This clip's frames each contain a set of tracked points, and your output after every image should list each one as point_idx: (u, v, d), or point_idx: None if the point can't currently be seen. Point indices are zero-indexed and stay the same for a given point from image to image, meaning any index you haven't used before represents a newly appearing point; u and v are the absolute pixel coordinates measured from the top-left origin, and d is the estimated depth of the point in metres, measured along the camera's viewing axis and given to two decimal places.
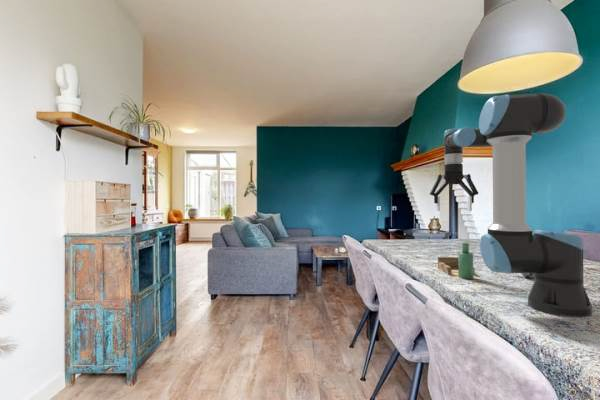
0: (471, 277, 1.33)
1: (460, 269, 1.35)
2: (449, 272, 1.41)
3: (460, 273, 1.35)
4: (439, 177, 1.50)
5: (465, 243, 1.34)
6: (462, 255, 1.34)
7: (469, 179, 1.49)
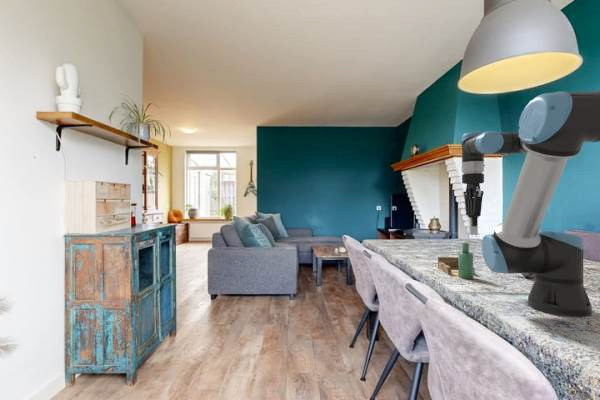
0: (471, 277, 1.33)
1: (460, 269, 1.35)
2: (449, 272, 1.41)
3: (460, 273, 1.35)
4: (464, 194, 1.33)
5: (465, 243, 1.34)
6: (462, 255, 1.34)
7: (474, 196, 1.23)
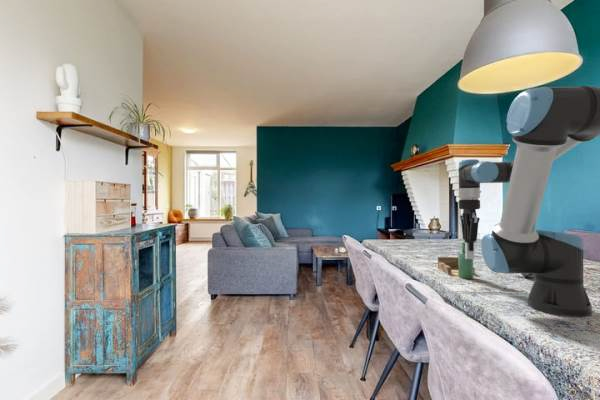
0: (471, 277, 1.33)
1: (460, 269, 1.35)
2: (449, 272, 1.41)
3: (460, 273, 1.35)
4: (461, 219, 1.37)
5: None
6: (462, 255, 1.34)
7: (471, 222, 1.27)
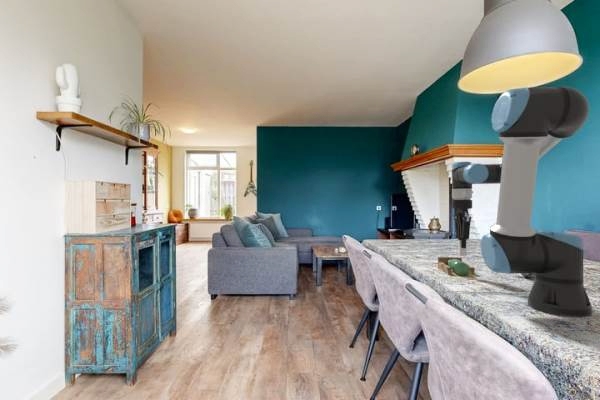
0: None
1: (453, 265, 1.42)
2: (449, 272, 1.41)
3: (455, 266, 1.40)
4: (454, 218, 1.44)
5: (450, 260, 1.52)
6: (450, 261, 1.48)
7: (463, 221, 1.34)
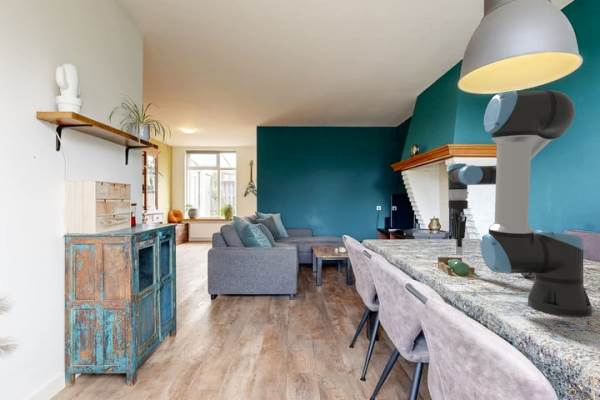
0: None
1: (453, 265, 1.42)
2: (449, 272, 1.41)
3: (455, 266, 1.40)
4: None
5: (450, 260, 1.52)
6: (450, 261, 1.48)
7: (459, 221, 1.39)
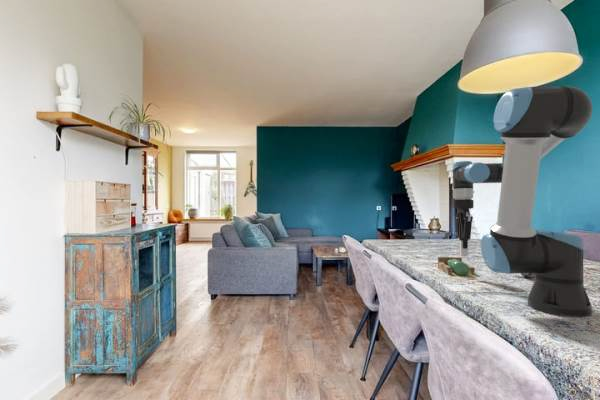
0: (464, 263, 1.39)
1: (453, 265, 1.42)
2: (449, 272, 1.41)
3: (454, 266, 1.40)
4: (455, 218, 1.43)
5: (449, 260, 1.52)
6: (449, 261, 1.48)
7: (465, 221, 1.33)
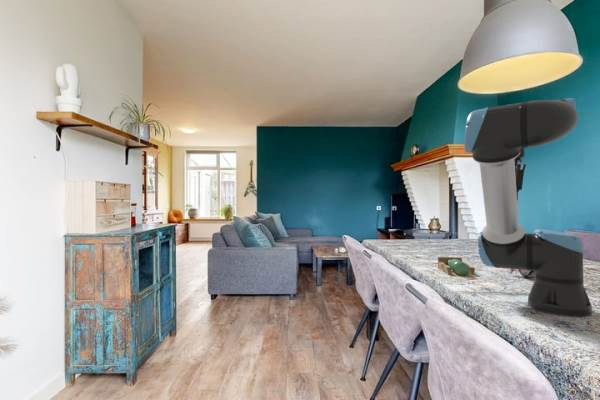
0: None
1: (453, 265, 1.42)
2: (449, 272, 1.41)
3: (455, 266, 1.40)
4: None
5: (450, 260, 1.52)
6: (450, 261, 1.48)
7: (516, 170, 1.24)
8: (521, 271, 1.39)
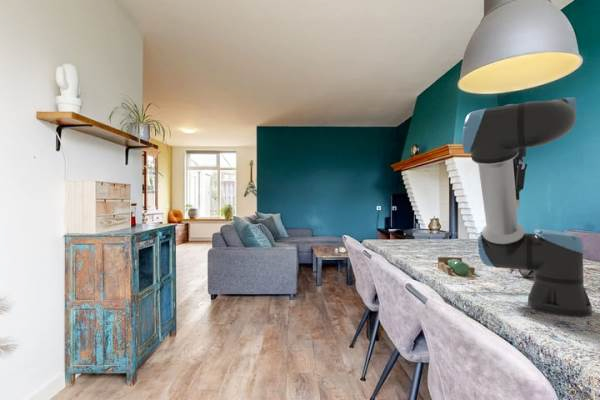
0: None
1: (453, 265, 1.42)
2: (449, 272, 1.41)
3: (454, 266, 1.40)
4: None
5: (449, 260, 1.52)
6: (450, 261, 1.48)
7: (517, 169, 1.23)
8: (521, 271, 1.39)
